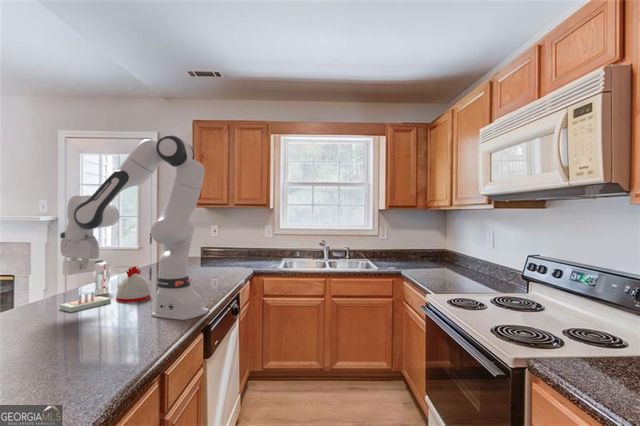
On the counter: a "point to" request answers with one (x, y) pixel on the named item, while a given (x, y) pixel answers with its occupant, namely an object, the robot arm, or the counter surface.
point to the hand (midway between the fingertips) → (79, 268)
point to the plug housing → (78, 266)
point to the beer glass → (102, 277)
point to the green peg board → (85, 303)
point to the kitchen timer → (133, 287)
